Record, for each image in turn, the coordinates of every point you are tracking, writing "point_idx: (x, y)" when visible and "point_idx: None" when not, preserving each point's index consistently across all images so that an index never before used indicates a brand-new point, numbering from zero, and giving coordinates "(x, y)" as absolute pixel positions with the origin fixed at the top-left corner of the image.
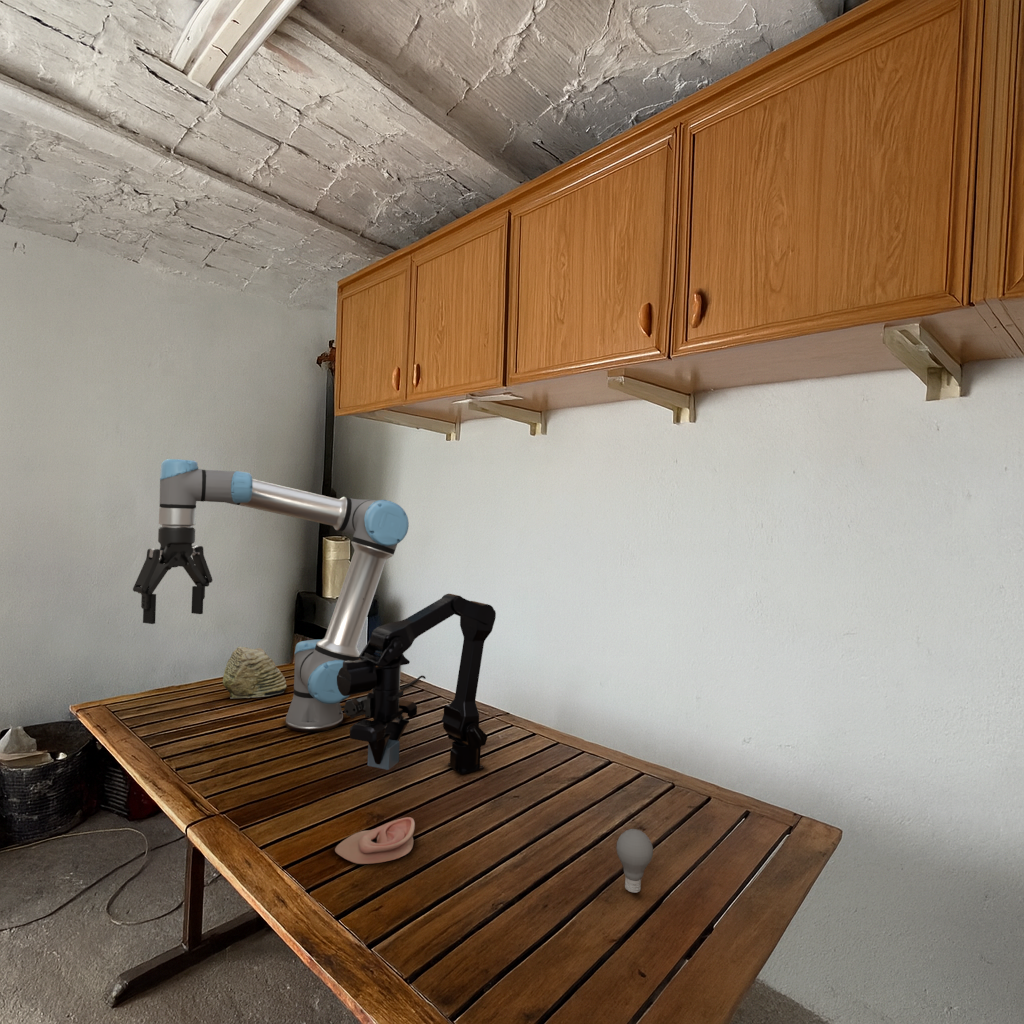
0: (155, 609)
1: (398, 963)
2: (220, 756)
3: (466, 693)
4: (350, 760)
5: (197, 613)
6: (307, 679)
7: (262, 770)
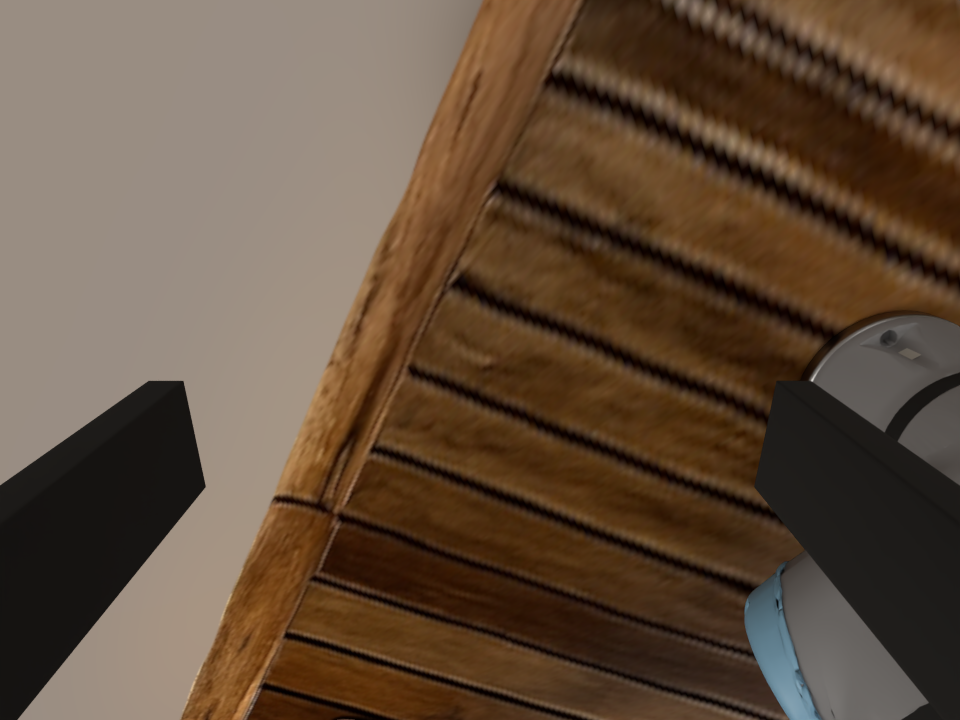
0: (123, 584)
1: None
2: (568, 322)
3: None
4: (652, 590)
5: (763, 457)
6: (799, 606)
7: (535, 465)
